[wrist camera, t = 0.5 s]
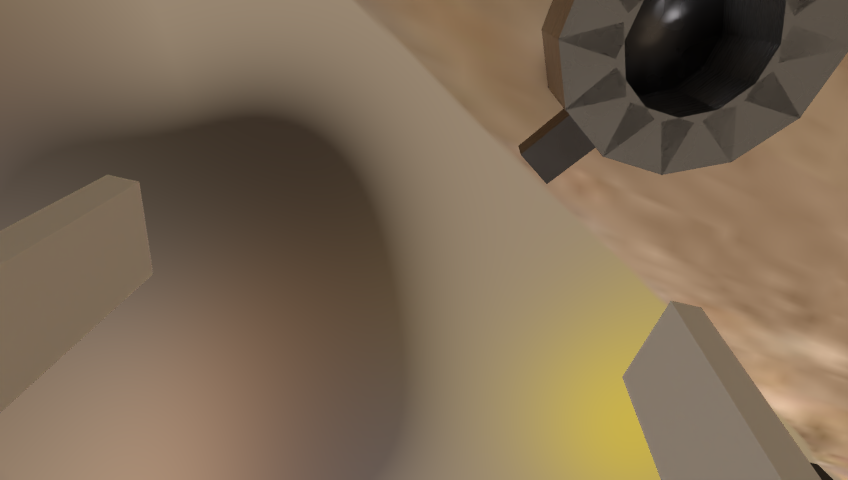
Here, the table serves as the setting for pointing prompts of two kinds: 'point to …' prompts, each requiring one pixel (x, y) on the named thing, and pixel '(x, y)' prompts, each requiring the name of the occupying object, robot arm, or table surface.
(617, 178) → the table surface
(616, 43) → the pot
